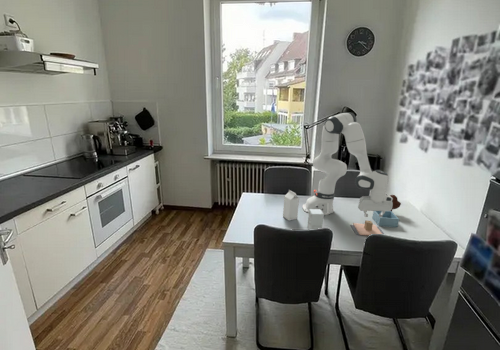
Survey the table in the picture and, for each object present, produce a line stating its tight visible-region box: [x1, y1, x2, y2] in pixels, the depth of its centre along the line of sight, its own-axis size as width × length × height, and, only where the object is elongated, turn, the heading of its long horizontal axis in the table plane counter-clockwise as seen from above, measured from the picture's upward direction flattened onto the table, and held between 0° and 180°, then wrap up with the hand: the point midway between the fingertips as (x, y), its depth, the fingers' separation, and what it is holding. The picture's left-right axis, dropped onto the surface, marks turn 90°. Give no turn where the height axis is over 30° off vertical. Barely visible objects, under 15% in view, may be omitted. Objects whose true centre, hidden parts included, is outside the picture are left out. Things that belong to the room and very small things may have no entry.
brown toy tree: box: [389, 194, 402, 212], centre depth 200 cm, size 11×11×15 cm
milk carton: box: [282, 189, 300, 221], centre depth 186 cm, size 7×7×19 cm
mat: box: [350, 224, 385, 237], centre depth 175 cm, size 18×12×1 cm, turn 87°
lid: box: [352, 220, 382, 236], centre depth 175 cm, size 14×14×6 cm
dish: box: [371, 210, 400, 228], centre depth 187 cm, size 12×12×6 cm
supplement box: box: [307, 209, 325, 230], centre depth 172 cm, size 7×7×13 cm
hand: (373, 216), depth 175 cm, fingers open, 8 cm apart
